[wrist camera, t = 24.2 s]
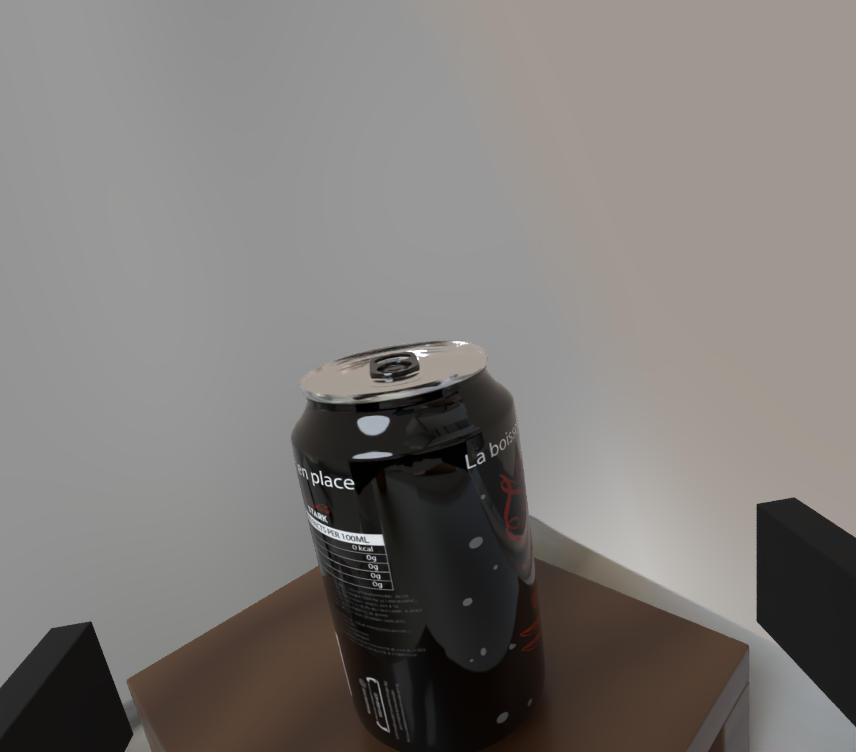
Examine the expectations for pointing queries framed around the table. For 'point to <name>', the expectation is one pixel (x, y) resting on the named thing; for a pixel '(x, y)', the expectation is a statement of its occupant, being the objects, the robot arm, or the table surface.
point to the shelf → (524, 748)
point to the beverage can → (424, 542)
